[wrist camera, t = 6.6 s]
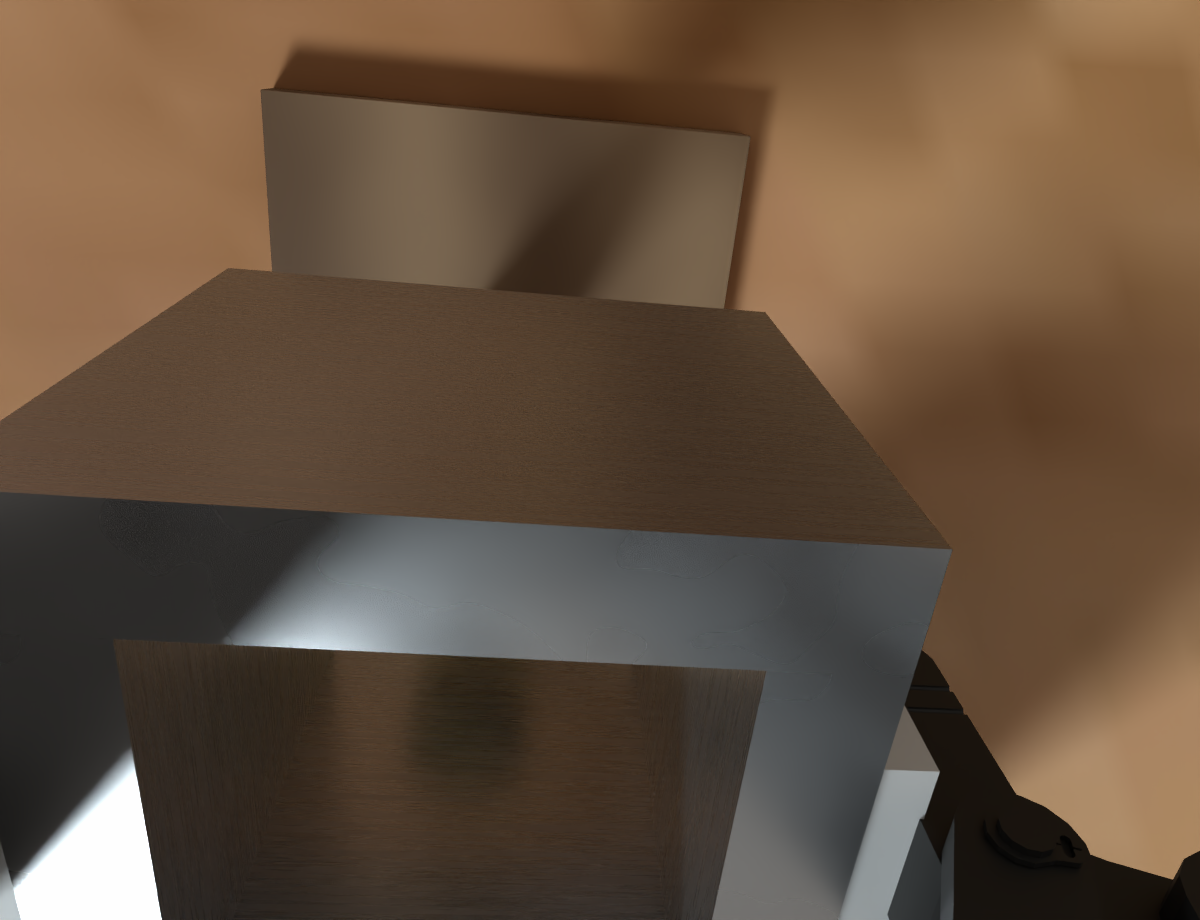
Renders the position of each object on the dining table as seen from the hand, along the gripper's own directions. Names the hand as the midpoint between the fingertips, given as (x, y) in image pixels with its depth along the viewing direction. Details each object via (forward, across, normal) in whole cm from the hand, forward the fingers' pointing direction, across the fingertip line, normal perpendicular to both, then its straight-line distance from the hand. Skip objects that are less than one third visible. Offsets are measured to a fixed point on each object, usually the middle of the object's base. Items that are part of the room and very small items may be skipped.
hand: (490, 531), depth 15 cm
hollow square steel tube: (0, 0, 0) cm, 0 cm away
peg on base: (+11, 0, 0) cm, 11 cm away
